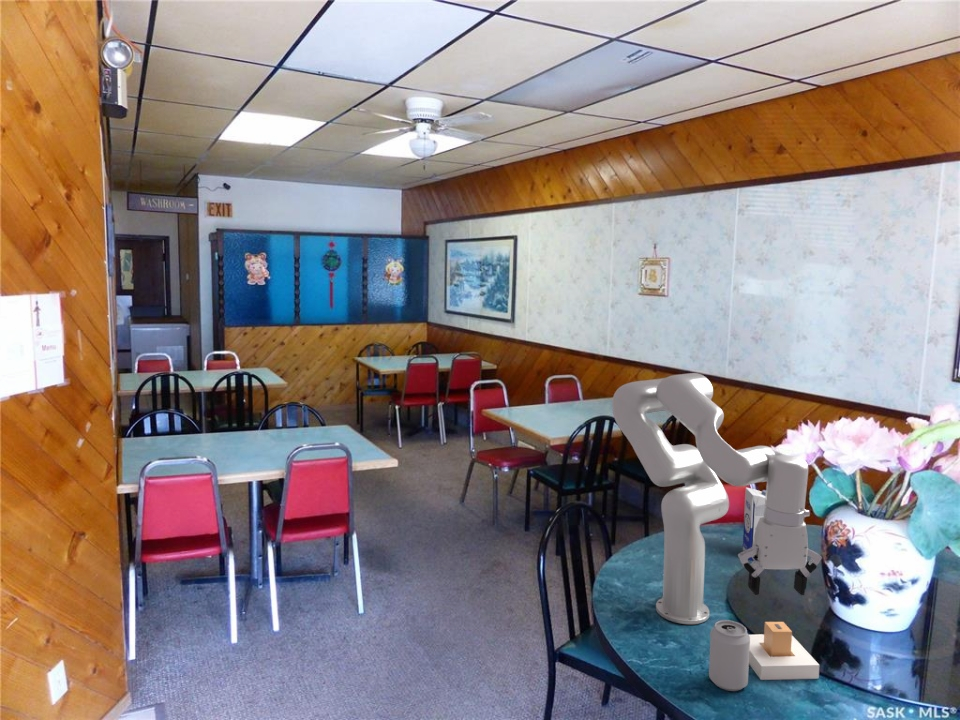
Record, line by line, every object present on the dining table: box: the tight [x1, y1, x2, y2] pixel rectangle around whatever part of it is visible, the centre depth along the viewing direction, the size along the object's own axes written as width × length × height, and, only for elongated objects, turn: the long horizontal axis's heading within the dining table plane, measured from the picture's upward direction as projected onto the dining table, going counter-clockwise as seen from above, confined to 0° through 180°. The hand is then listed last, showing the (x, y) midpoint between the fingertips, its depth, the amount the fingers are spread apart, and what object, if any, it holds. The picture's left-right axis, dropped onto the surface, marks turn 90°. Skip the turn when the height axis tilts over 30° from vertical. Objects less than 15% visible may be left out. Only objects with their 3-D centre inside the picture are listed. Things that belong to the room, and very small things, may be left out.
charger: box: [763, 621, 793, 657], centre depth 142 cm, size 4×4×8 cm
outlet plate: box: [749, 633, 820, 681], centre depth 143 cm, size 12×12×3 cm
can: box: [708, 619, 750, 692], centre depth 135 cm, size 8×8×12 cm
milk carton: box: [742, 487, 766, 562], centre depth 196 cm, size 7×7×20 cm
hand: (776, 591), depth 142 cm, fingers open, 9 cm apart
